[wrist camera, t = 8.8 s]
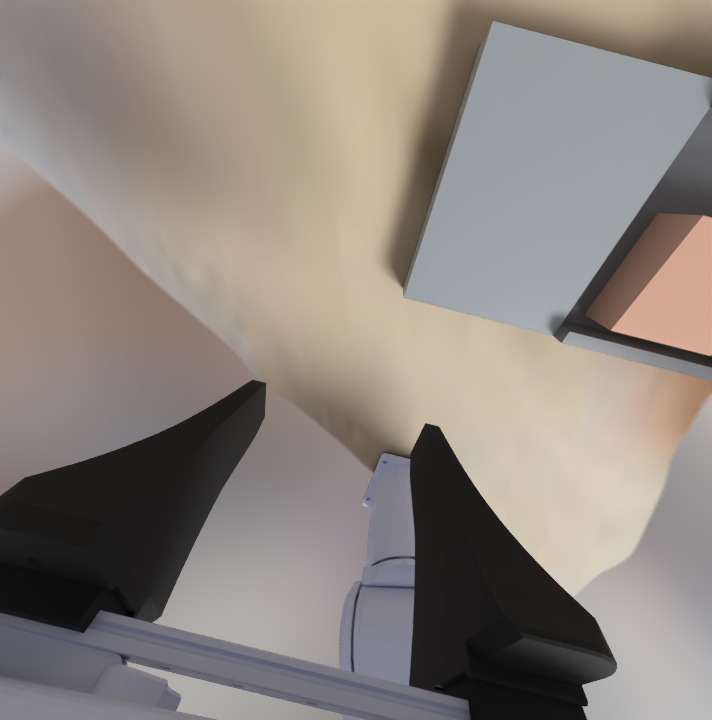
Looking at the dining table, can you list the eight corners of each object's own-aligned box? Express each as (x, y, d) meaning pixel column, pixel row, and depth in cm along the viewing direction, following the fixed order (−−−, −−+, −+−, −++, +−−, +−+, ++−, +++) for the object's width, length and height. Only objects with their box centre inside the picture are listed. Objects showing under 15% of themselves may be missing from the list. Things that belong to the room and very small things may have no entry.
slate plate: (539, 323, 19) (553, 335, 17) (402, 289, 19) (403, 297, 17) (683, 97, 13) (727, 82, 11) (479, 44, 13) (493, 21, 11)
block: (672, 337, 18) (710, 356, 15) (584, 314, 18) (610, 330, 15) (764, 240, 14) (828, 247, 12) (657, 213, 14) (703, 215, 12)
